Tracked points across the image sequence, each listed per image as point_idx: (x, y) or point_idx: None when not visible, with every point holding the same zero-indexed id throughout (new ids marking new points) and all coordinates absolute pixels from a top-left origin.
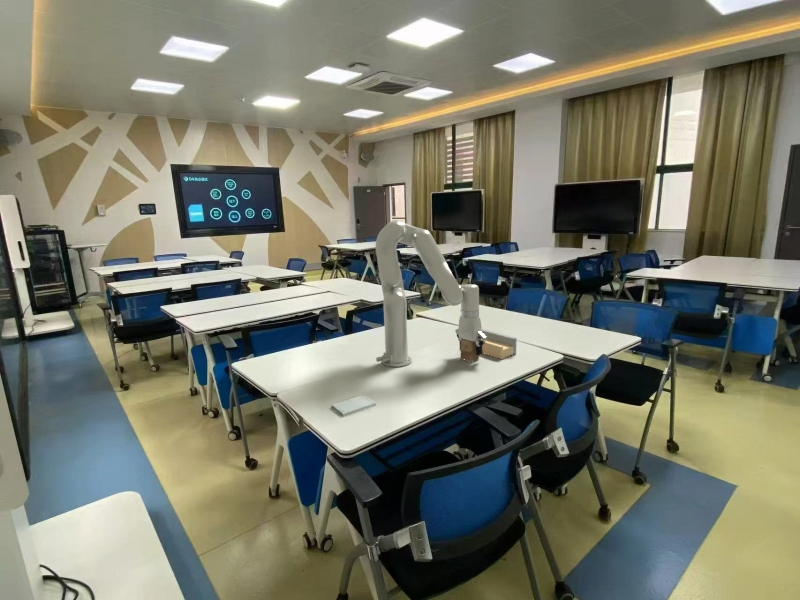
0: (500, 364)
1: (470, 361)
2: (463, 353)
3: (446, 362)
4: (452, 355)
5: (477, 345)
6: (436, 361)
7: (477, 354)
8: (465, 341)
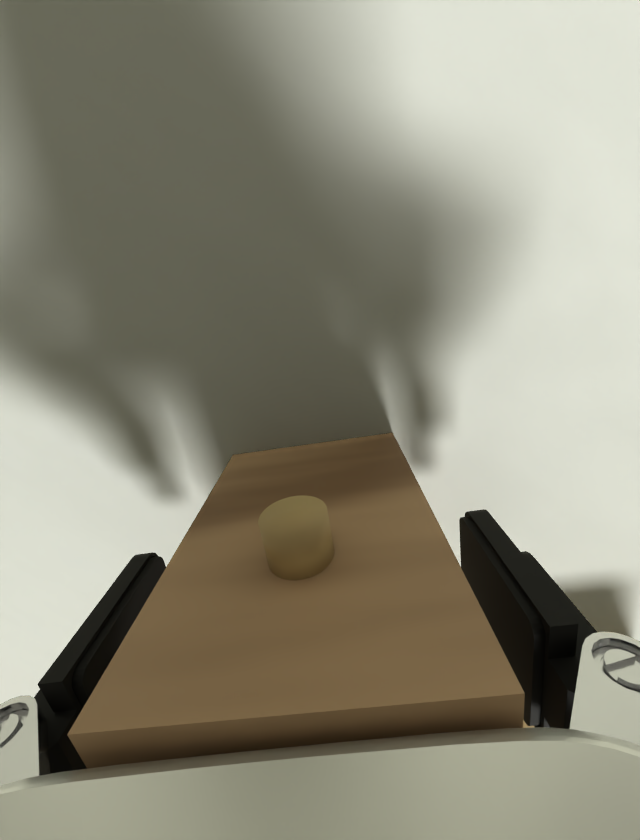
0: (60, 627)
1: (235, 458)
2: (349, 475)
3: (390, 183)
4: (545, 419)
5: (32, 719)
6: (523, 54)
7: (135, 567)
8: (296, 678)
